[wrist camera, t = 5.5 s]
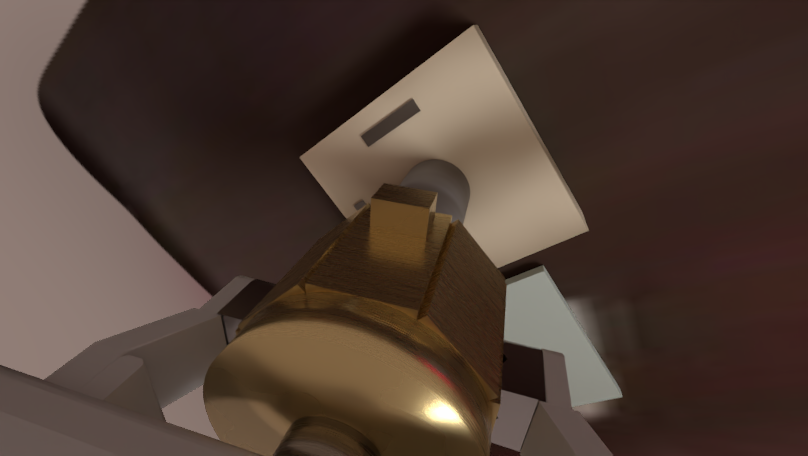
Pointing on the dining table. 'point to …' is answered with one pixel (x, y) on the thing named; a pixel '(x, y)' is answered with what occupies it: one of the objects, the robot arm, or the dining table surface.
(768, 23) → the dining table surface
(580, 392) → the coaster
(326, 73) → the dining table surface
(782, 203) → the dining table surface
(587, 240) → the dining table surface
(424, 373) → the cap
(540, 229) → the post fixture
